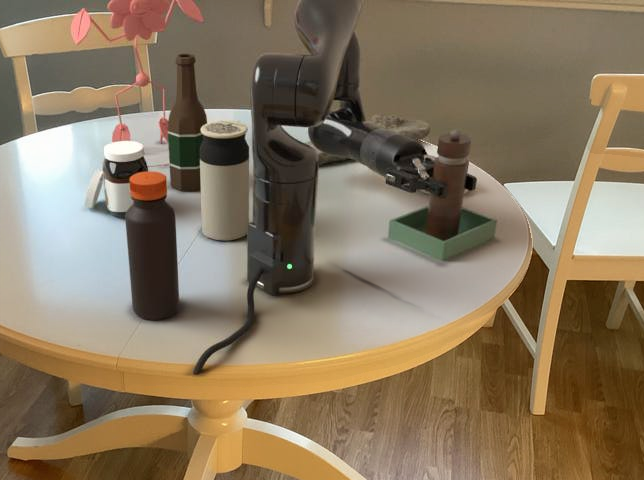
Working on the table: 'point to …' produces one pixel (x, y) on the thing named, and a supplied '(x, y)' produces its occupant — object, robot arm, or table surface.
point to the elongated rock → (394, 123)
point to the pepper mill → (449, 185)
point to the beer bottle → (185, 129)
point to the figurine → (136, 18)
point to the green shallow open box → (413, 235)
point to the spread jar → (117, 176)
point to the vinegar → (152, 247)
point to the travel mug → (224, 180)
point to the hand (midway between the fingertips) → (459, 188)
